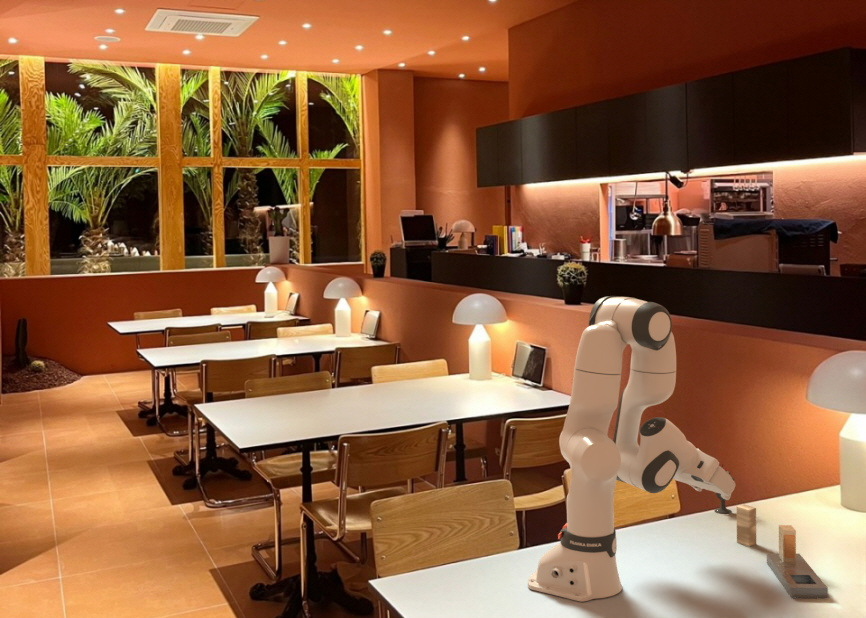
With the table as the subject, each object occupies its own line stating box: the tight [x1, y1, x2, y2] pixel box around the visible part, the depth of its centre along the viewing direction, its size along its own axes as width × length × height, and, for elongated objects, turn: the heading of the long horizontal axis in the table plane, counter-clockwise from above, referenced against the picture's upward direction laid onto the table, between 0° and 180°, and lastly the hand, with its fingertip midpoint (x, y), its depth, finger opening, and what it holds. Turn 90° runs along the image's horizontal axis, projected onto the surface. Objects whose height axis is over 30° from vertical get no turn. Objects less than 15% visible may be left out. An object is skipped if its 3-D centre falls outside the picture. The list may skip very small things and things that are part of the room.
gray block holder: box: [766, 524, 829, 599], centre depth 213 cm, size 8×22×10 cm, turn 173°
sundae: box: [714, 463, 735, 515], centre depth 267 cm, size 7×7×15 cm
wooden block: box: [736, 504, 757, 547], centre depth 239 cm, size 3×4×10 cm
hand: (713, 493), depth 232 cm, fingers open, 8 cm apart
